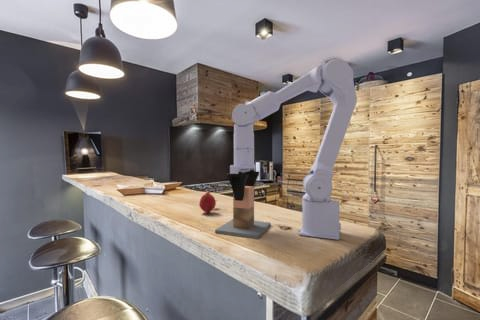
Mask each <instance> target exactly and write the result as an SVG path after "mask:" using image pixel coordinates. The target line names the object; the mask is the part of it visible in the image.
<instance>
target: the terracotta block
mask: <svg viewBox="0 0 480 320" xmlns="http://www.w3.org/2000/svg"><path fill="white" fill-rule="evenodd" d="M232 195H233V199H232V202H233V203H232V205H233V207H234V208H245V209H249V208H251V207H253V206H254V207H255V187H254V186H245V190H244V198H243V200H242V201H238V200H235V198H234V194H233V193H232Z"/></svg>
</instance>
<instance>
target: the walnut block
mask: <svg viewBox="0 0 480 320" xmlns="http://www.w3.org/2000/svg"><path fill="white" fill-rule="evenodd" d="M232 215H233V217H232V219H233V227H234V228H242V229H250V228H251V227H252V226H253V225H254V221H255V205H254V206H253V207H251V208H249V209H245V208H234V207H233V208H232Z"/></svg>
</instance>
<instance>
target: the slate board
mask: <svg viewBox="0 0 480 320" xmlns="http://www.w3.org/2000/svg"><path fill="white" fill-rule="evenodd" d="M271 224H272V223H271V222H269V221H268V222H267V221H260V220H259V221H258V220H254V225H253V226H252V227H251V228H250V229H242V228H234V227H233V218H232V219H230V220H229V221H228V222H226V223H224V224H223V225H220V226H219V227H217V228H216V229H215V230H214V232H215V233H214V234H220V235H228V236H236V237H242V238H249V239H257V240H258V239H260V238H261V236H263V234H264V233H265V232H266V231H267V230H268V229H269V228H270V227H271Z"/></svg>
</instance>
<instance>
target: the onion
mask: <svg viewBox="0 0 480 320" xmlns="http://www.w3.org/2000/svg"><path fill="white" fill-rule="evenodd" d="M216 204H217V202H216V198H215V197H214V196H213V195H212V194H211V193H210V191H209V190H207V191H206V192H205V193H204V194H203V195H202V196H201V198H200V200H199V207H200V210H202V211H203V212H205V213H206V214H210V213H211V212H212V211H213V210H214V209H215V208H216Z"/></svg>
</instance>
